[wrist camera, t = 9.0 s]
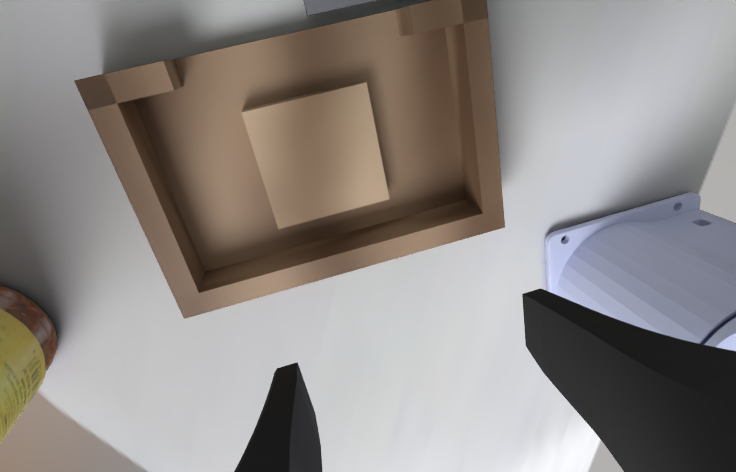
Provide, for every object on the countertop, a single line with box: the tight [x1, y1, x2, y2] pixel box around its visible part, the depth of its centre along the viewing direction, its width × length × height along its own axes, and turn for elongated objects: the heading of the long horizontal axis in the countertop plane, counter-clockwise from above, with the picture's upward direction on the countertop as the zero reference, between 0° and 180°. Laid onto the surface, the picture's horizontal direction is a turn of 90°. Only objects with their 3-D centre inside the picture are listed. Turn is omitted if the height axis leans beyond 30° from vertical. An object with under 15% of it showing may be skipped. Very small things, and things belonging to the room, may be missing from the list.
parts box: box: [75, 0, 505, 319], centre depth 19 cm, size 15×10×3 cm, turn 102°
